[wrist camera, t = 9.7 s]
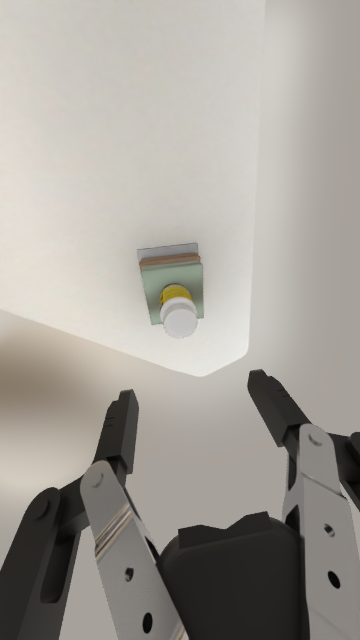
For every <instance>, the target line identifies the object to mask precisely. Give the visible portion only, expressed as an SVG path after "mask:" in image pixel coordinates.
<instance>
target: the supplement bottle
mask: <svg viewBox="0 0 360 640" xmlns="http://www.w3.org/2000/svg"><path fill="white" fill-rule="evenodd" d="M196 316H197V310H196V307H195V304H194V302H193V300H192V298H191V296H190V293H189V291H188V289H187V288H186V287H185V286H184V285H183V284H181V283H170V284H167V285H166V286H165V287H164V288H163V289H162V290H161V292H160V318H161V321H162V322H163V325H164V329H165V331H166V333H167V334H168V335H170V336H172V337H174V338H184V337H187V336H189V335H191V334H192V333H193V332H194V331H195V330H196V328H197V324H198V321H197V317H196Z"/></svg>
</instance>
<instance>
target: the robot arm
mask: <svg viewBox="0 0 360 640" xmlns="http://www.w3.org/2000/svg"><path fill="white" fill-rule="evenodd" d="M247 387H248V391H249V394H250V396H251V398H252V400H253V401H254V403H255V405H256V407H257V409H258V411H259V413H260V414H261V416H262V418H263V420H264V422H265V423H266V426H267V428H268V429H269V431H270V433H271V435H272V437H273V439H274V440H275V442H276V444H277V446H278V447H283V446H285V447H286V449H287V451H288V453H287V472H286V473H287V474H286V492H285V497H284V503H283V510H282V522H281V521H279V520H277V519H275V518H272V517H269V515H268V513H267V511H265V512H260V513H255V514H250V515H246V516H244V517H243V518H241V519H240V520H239V521H237V522H236V523H234V524H233V525H231V526H230V527H229V528H227V529H219V528H213V527H209V526H204V525H196V526H192V527H187V528H182V529H178V534H179V535H177V536H176V537H174V538H173V539H172V540H171V541H170V542H169V544H168V545H167V546H166V547H165V549H164V550H163V552H162V553H161V555H160V553H159V551H158V549H157V547H156V545H155V543H154V541H153V539H152V537H151V535H150V533H149V531H148V530H147V528H146V526H145V524H144V523H143V521H142V519H141V517H140V515H139V513H138V511H137V509H136V507H135V505H134V503H133V501H132V499H131V497H130V495H129V493H128V491H127V489H126V486H125V482H126V475H127V474H132V472H133V462H134V452H135V442H136V433H137V423H138V412H139V406H138V402H137V399H136V396H135V393H134V391H133V389H131V390H124V391H121V392H120V395H119V399H118V400H117V401H113V402H112V403H111V405H110V407H109V408H108V410H107V413H106V417H105V421H104V424H103V428H102V432H101V436H100V439H99V443H98V447H97V451H96V454H95V457H94V460H93V462H92V464H91V466H90V467H89V468H88V469H87V471H86V472H85V474H83V475H82V476H81V477H80V478H78V479H77V480H75V481H73V482H72V483H70V484H68V485H66V486H65V487H63V488H61V489H59V490H58V489H57V488H54V487H51V488H47V489H46V490H44V491H42V492H41V493H39V494H38V495H37V496H36V497H35V498H34V499H33V501H32V502H31V503H30V505H29V506H28V508H27V510H26V512H25V514H24V516H23V518H22V521H21V523H20V526H19V528H18V530H17V533H16V535H15V537H14V540H13V542H12V545H11V547H10V549H9V552H8V554H7V556H6V559H5V561H4V563H3V566H2V568H1V571H0V640H59V635H60V630H61V626H62V621H63V616H64V611H65V607H66V602H67V597H68V592H69V588H70V583H71V578H72V573H73V568H74V564H75V559H76V555H77V550H78V545H79V540H80V536H81V531H82V530H83V529H85V528H86V527H88V526H89V525H90V526H91V529H92V532H93V536H94V539H95V543H96V546H95V558H96V562H97V566H98V570H99V573H100V576H101V580H102V583H103V587H104V590H105V594H106V597H107V601H108V604H109V608H110V611H111V615H112V618H113V622H114V625H115V629H116V632H117V636H118V639H119V640H360V560H359V555H358V549H357V543H356V537H355V532H354V526H353V520H352V515H351V509H350V505H349V502H348V500H347V499H346V497H344V496H343V495H342V493H341V489H340V484H339V481H340V482H341V484H342V485H343V487H344V489H345V490H346V492H347V493H348V495H349V496H350V498H351V499H352V501H353V502H354V504H355V505H356V507H357V508H358V510H359V511H360V432H355V433H353V434H352V435H351V436H350V437H347V436H342V435H336V434H331V433H327V432H325V431H324V430H323V429H321V428H320V427H318V426H316V425H313V424H312V423H311V422H310V421H309V420H308V418H307V417H306V416H305V414H304V413H303V412H302V411H301V409H300V408H299V407H298V405H297V404H296V403H295V401H294V400H293V399H292V397H290V395H289V394H288V392H287V391H286V390H285V388H284V387H283V386H282V384H281V383H280V382H279V381H278V380H276V379H275V378H274V377H272V376H269V377H268V376H267V375H266V373H265V372H264V371H263V370H262V369H259V370H253V371H250V373H249V379H248V385H247Z"/></svg>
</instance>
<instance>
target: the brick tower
mask: <svg viewBox="0 0 360 640" xmlns="http://www.w3.org/2000/svg"><path fill="white" fill-rule="evenodd" d="M139 265H140V270H141V276H142V281H143V286H144V290H145V295H146V300H147V305H148V309H149V314H150V319H151V324H152V325H156V324H163V322H162V321H161V318H160V292H161V290H162V289H163V288H164V287H165V286H166V285H167V284H170V283H181V284H183V285H184V286H185V287H186V288H187V289H188V291H189V293H190V296H191V298H192V300H193V302H194V304H195V307H196V310H197V316H196V317H197V319H200V318H204V311H203V267H202V264H201V263H200V256H199V255H198V254H196V253H188V254H179V255H170V256H162V257H153V258H145V259H141V260H140V263H139Z"/></svg>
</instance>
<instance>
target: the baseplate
mask: <svg viewBox="0 0 360 640" xmlns="http://www.w3.org/2000/svg"><path fill="white" fill-rule="evenodd" d="M188 253H196V254H198V245H197V243H192V244H183V245H174V246H166V247H157V248H148V249H139V250H137V254H138V259H139V263H140V260H141V259H145V258H153V257H162V256H170V255H179V254H188Z"/></svg>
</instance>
